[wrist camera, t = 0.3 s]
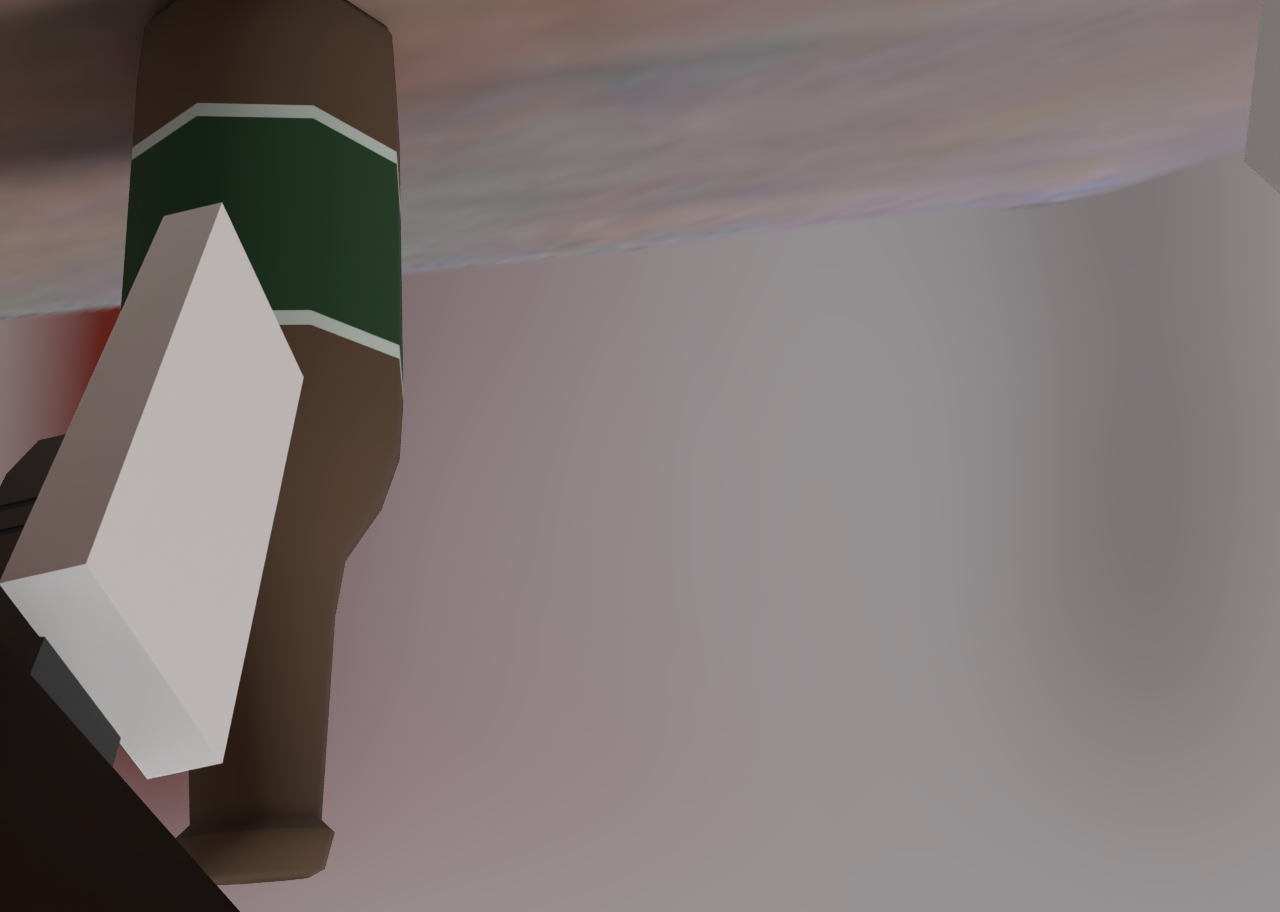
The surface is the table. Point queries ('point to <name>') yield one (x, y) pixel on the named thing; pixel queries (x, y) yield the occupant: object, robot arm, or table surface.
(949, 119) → the table surface
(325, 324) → the beer bottle
